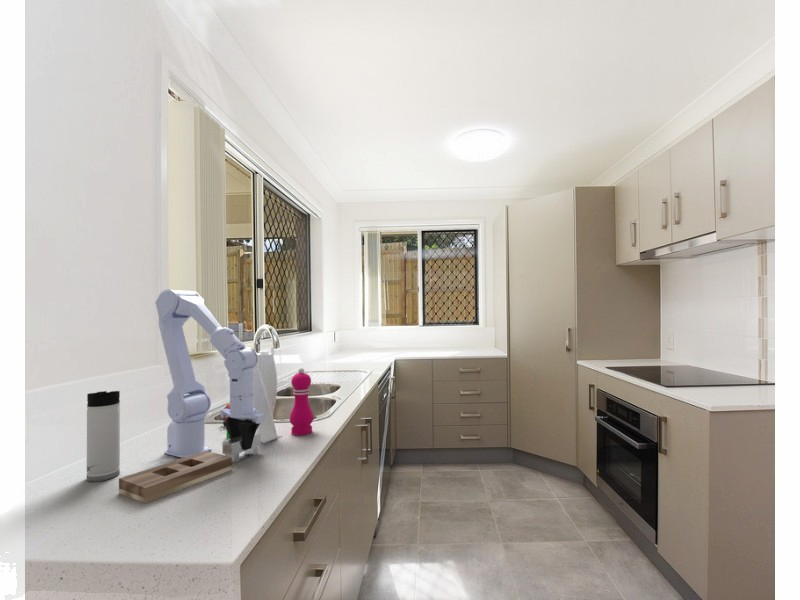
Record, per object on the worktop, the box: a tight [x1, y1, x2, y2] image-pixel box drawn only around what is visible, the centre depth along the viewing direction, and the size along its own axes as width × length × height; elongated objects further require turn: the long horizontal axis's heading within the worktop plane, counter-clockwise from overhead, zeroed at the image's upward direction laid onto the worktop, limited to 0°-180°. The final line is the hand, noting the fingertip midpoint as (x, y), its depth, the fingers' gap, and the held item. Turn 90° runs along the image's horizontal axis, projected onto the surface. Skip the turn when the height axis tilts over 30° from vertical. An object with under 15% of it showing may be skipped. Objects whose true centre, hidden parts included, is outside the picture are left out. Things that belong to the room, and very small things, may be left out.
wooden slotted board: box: [118, 451, 233, 504], centre depth 94 cm, size 10×20×3 cm, turn 150°
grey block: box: [221, 433, 261, 464], centre depth 108 cm, size 4×9×5 cm, turn 150°
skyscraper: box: [253, 345, 283, 444], centre depth 124 cm, size 8×8×28 cm
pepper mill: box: [289, 367, 314, 436], centre depth 130 cm, size 7×7×20 cm
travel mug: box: [86, 390, 121, 483], centre depth 97 cm, size 6×7×20 cm
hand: (241, 447), depth 108 cm, fingers closed on grey block, 3 cm apart
